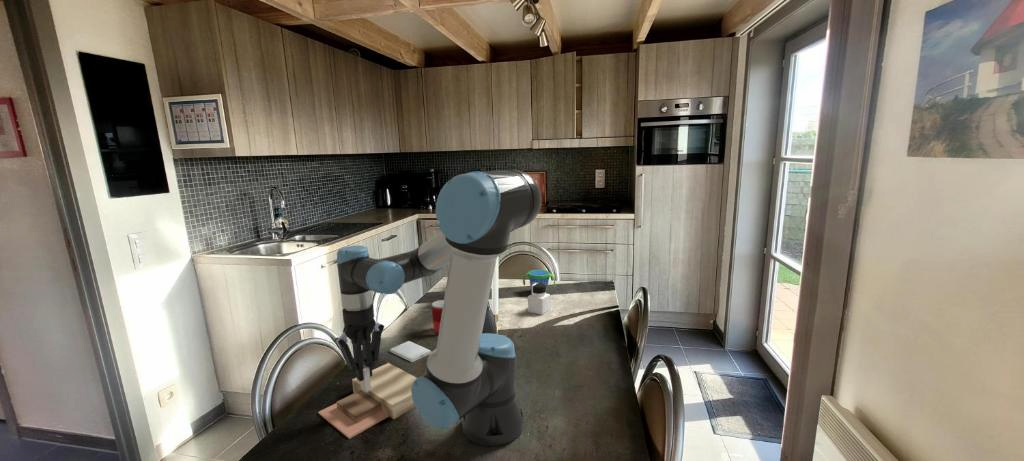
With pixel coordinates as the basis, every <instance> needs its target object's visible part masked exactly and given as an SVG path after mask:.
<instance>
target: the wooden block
mask: <svg viewBox="0 0 1024 461" xmlns="http://www.w3.org/2000/svg"><path fill="white" fill-rule="evenodd" d="M336 403H337V409H338V410H340V411H341V412H342V413H344V414H345V415H346V416H348V417H349V418H350V419H352V420H353V421H354V422H355V423H359V422H360V421H362V420H364V419H366V418H368V417H370V416H371V415H373V414H375V413H377V412H379V411H381V403H380V402H378V401H377V400H375V399H374V398H372V397H370V396H369V395H367V394H366V393H364V392H363V391H361V390H360V391H358V392H356V393H354V392H353V393H352V394H350V395H348V396H346V397H344V398H342V399H340V400H337V401H336Z"/></svg>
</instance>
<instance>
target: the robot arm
mask: <svg viewBox="0 0 1024 461" xmlns="http://www.w3.org/2000/svg"><path fill="white" fill-rule="evenodd" d="M542 200H543V199H542V192H541V189H540V186H539V184H538V182H537V181H536V180H535V179H534V178H533V177H532V176H531V175H529V174H528V173H526V172H524V171H522V170H518V169H505V170H490V171H489V170H488V171H479V170H474V171H470V172H466V173H461V174H457V175H455V176H453V177H452V178H451V179H449V180H447V182H446V183H445V184H444V185H443V186H442V188H441V189H440V191H439V194H438V197H437V198H436V202H435V204H436V205H435V216H436V217H435V218H436V220H437V221H439V223H438V228H439V230H440V232H438V233H437V234H436V235H434V236H432V237H431V238H429V239H428V240H426V242H424V243H422V244H421V245H420V246H418V247H416V248H414V249H413V250H410V251H407V252H403V253H399V254H395V255H390V256H387V257H383V258H373V257H370V254H369V253H370V252H369V249H368V248H367V246H364V245H349V246H345V247H341V248H339V249H338V250H337V251H336V260H337V261H336V267H337V274H338V283H339V291H340V300H341V308H342V311H341V312H342V319H343V324H344V325H343V326H344V327H343V330H342V334H341V335H340V336H337V337H335V339H334V342H335V343H336V344H337V345H338V346H339V348H340V351H341V353H342V355H343V358H344V360H345V363H346V366H347V368H348V369H350V370H351V371H354V372H355V374H356V378H357V380H359V381H360V386H361V389H362V390H363V391H365V392H368V391H370V390H371V383H370V377H371V376H372V370H373V367H374V366H375V364H374V363H375V362H378V360H379V356H380V347H381V340H382V339H381V338H382V333H383V331H384V329H385V325H384V324H382V323H380V322H376V319H375V311H374V305H373V303H374V300H373V299H374V298H373V292H374V293H376V294H382V295H383V294H385V295H392V294H395V293H397V292H398V291H399V290H400V289H401V288H402V287H403V285H404V284H408V283H410V282H413V281H416V280H420V279H422V278H426V277H430V276H433V275H435V274H436V273H439V272H440V271H441V270H442V267H444V266H446V265H447V264H449V265H448V272H447V277H446V278H447V279H446V284H445V292H444V296H443V297H444V298H443V300H444V304H443V310H442V316H441V323H440V329H439V334H438V335H437V336H438V337H437V343H436V348H435V349H433V350H431V353H430V354H428V357H427V360H426V367H425V372H424V374H423V375H419V376H418V377H416V378H417V379H416V380H415V381H414V382H413V384H412V387H411V394H412V399H413V402H414V404H415V406H416V407H415V408H416V410H417V412H418V414H420V416H421V418H422V419H423V420H424V421H425V422H426V423H427V424H428V425H430V426H431V427H433V428H435V429H437V430H446V429H448V428H450V427H451V426H453V425H455V424H457V423H459V421H461V420H462V432H463V434H464V436H465V438H467V439H468V440H469V441H470V442H471V443H474V444H476V445H478V446H479V445H480V446H483V447H497V446H503V445H506V444H509V443H512V442H513V441H514V440H516V439H517V438H518V437H520V435H521V434H522V432H523V431H524V427H525V419H524V418H525V417H524V412H523V410H522V408H521V405H520V402H519V400H518V397H517V388H516V387H517V386H516V385H517V382H516V376H517V375H516V352H515V345H514V342H513V341H512V339H510V338H509V337H508V336H506V335H502V334H499V333H490V332H486V333H485V332H484V333H483V329H484V325H485V319H486V314H487V310H488V309H487V308H488V305H489V304H488V303H489V300H490V299H489V298H490V296H491V295H490V294H491V288H492V285H493V279H494V274H495V268H496V264H497V259H498V257H499V256H501V255H503V254H506V252H507V249H508V245H509V240H510V235H511V233H512V232H513V231H514V232H515V230H518V229H519V228H520V229H521V228H523V227H526V226H527V225H529V224H531V223H532V222H533V221H534V220H535V219H536V218H537V216H538V215H539V213H540V210H541V208H542ZM348 339H349V340H350V343H351V344H352V351H351V349H350V346H349V344H348V342H349V341H348ZM352 353H353V354H352Z"/></svg>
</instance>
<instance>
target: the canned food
mask: <svg viewBox="0 0 1024 461" xmlns="http://www.w3.org/2000/svg"><path fill="white" fill-rule="evenodd" d="M443 304H444V299H439V300H435V301H433V302H432V303H431V313H432V326H433V327H432V328H433V331H434V333H435V334H438V335H439V329H440V323H441V316H442V310H443Z"/></svg>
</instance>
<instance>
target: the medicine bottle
mask: <svg viewBox="0 0 1024 461" xmlns="http://www.w3.org/2000/svg"><path fill="white" fill-rule="evenodd" d="M527 305H528V306H527V312H528V313H532V314H537V315H540V316H543V315H544V314H546V313H547V312H549V311H550V310H551V294H550V293H546V285H545V284H543V283H535V284H533V285H532V292H531V294H530V295H528V296H527Z"/></svg>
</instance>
